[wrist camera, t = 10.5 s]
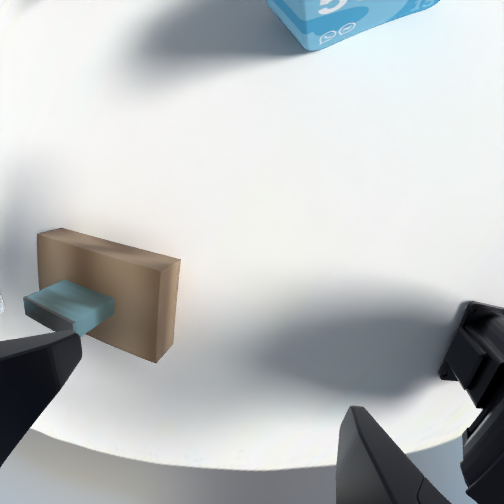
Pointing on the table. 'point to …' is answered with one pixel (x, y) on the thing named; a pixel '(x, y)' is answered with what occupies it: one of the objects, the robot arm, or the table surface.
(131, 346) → the brown display base
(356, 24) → the data package
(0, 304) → the milkshake
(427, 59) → the table surface
